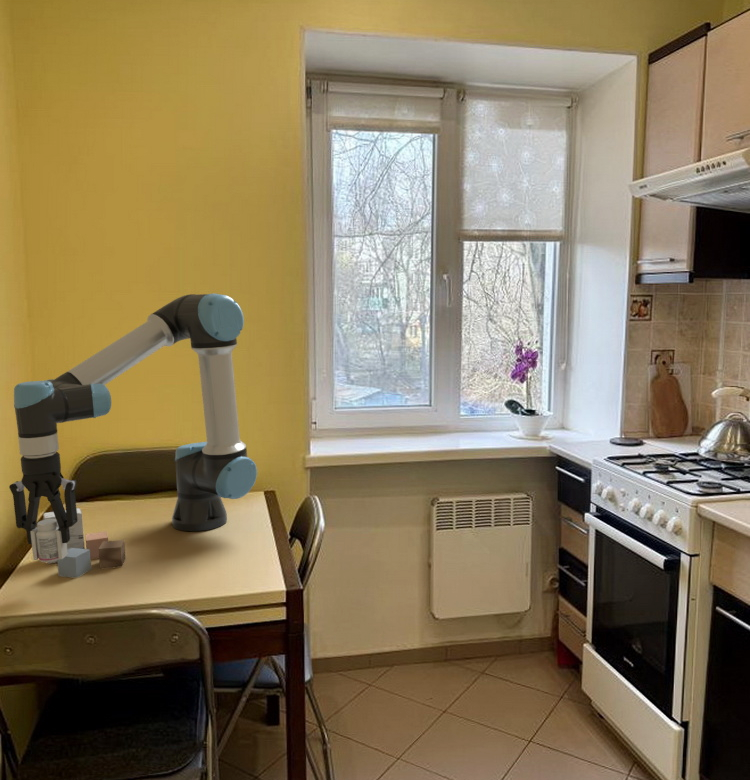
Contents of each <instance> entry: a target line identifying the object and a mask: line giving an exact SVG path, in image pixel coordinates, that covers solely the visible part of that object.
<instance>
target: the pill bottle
mask: <svg viewBox="0 0 750 780" xmlns="http://www.w3.org/2000/svg"><path fill="white" fill-rule="evenodd" d="M36 523H37V525H36V527H37V529H38V532H37V533H36V538H37V547H38V555H39V559H38V561H39V562H41V563H47V562H53V561H56V560H59V556H58V546H57V537H56V530H57V529H59V528H57V527H58V523H57V520H56V519H46V520H44V519H42V520H40V521H38V522H36Z"/></svg>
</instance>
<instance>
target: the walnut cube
mask: <svg viewBox="0 0 750 780" xmlns="http://www.w3.org/2000/svg"><path fill="white" fill-rule="evenodd" d="M126 558H127V557H126V545H125V539H119V540H118V539H117V540H116V539H115V540H108V541H103V542H102V544H101V546H100V547H99V558H98V559H99V569H100V570H101V569H111V568H113V567H115V568H123V565H124V564H125V561H126ZM123 563H124V564H123ZM113 569H114V568H113Z"/></svg>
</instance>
